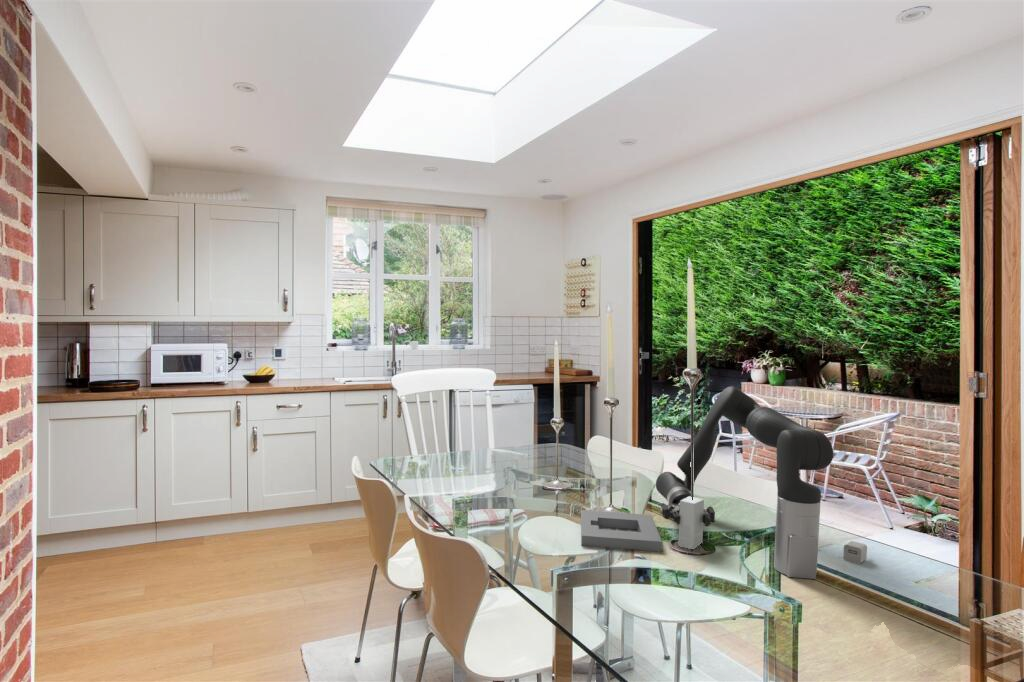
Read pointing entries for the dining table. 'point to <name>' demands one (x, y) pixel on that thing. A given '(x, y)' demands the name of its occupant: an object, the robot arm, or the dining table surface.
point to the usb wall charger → (855, 552)
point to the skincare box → (691, 522)
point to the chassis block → (619, 539)
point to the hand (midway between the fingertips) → (693, 521)
